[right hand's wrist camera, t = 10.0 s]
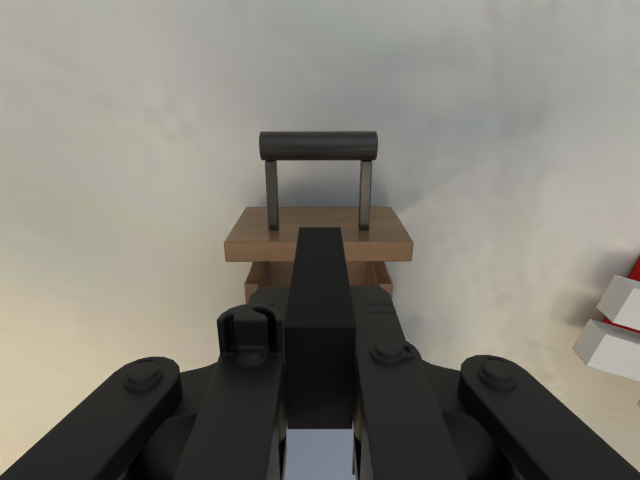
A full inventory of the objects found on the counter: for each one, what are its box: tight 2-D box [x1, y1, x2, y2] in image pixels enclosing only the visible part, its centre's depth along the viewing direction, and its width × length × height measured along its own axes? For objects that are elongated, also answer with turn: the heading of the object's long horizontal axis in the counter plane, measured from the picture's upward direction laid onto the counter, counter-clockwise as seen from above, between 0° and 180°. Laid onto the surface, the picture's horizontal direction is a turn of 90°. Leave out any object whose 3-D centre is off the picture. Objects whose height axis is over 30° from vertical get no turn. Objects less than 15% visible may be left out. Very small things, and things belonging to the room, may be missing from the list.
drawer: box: [224, 131, 413, 304], centre depth 27 cm, size 24×10×7 cm, turn 0°
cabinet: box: [284, 427, 356, 480], centre depth 31 cm, size 20×12×9 cm, turn 0°
